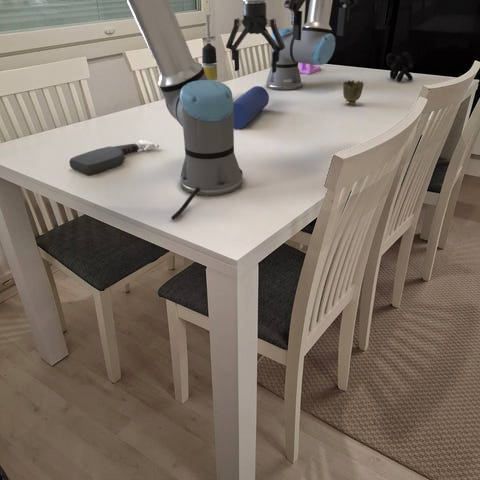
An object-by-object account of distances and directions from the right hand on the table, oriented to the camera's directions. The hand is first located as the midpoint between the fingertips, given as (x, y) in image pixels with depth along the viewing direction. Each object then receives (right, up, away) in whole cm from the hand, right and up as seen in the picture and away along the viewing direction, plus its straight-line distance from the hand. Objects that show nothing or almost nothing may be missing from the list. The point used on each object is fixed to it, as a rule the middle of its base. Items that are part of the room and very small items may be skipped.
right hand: (255, 71), depth 155 cm
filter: (-17, -2, +24) cm, 29 cm away
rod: (-3, -16, +1) cm, 16 cm away
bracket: (+30, +24, +65) cm, 75 cm away
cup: (+36, -8, +13) cm, 40 cm away
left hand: (+15, -6, -40) cm, 43 cm away
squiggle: (+67, +13, +46) cm, 82 cm away
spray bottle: (-40, -36, -30) cm, 62 cm away
